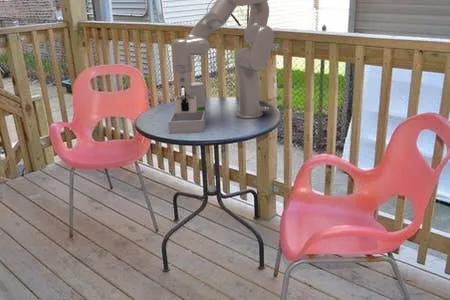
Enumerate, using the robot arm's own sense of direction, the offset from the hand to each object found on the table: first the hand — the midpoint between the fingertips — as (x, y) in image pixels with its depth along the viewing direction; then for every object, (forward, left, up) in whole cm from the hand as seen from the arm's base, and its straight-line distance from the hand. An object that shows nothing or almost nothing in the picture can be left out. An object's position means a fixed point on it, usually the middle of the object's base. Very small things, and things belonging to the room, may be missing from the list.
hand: (186, 108), depth 190 cm
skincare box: (-2, -19, -9) cm, 21 cm away
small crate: (0, 0, -1) cm, 1 cm away
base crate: (0, 0, -9) cm, 9 cm away
